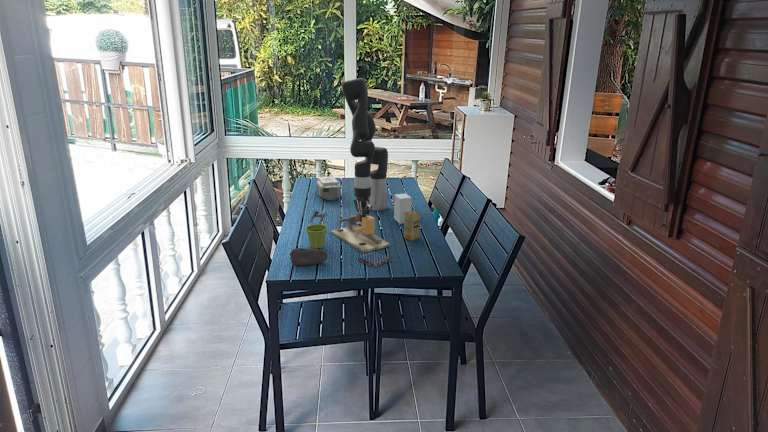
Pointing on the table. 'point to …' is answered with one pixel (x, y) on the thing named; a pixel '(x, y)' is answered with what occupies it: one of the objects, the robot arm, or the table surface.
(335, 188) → the grey lidded box
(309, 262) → the perforated stone tool
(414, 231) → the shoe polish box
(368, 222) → the block
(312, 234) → the plant pot
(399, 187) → the table surface
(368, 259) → the woven mat
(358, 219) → the hand axe
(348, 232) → the board
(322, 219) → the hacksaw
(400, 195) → the small box
